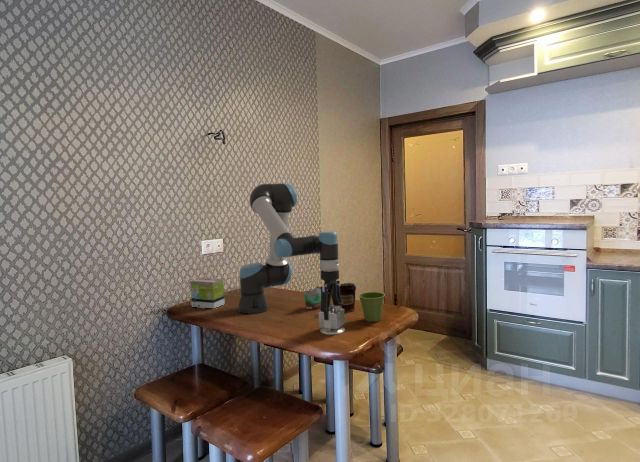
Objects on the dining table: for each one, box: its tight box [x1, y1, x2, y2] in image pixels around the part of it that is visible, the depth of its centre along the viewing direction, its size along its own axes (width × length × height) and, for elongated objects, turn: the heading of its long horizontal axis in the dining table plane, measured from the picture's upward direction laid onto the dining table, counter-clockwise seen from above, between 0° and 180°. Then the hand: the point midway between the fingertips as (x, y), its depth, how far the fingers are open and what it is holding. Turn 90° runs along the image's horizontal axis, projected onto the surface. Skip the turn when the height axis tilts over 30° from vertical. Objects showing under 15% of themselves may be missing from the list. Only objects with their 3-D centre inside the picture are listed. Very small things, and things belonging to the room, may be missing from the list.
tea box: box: [189, 277, 226, 309], centre depth 209 cm, size 15×10×15 cm
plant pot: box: [357, 291, 386, 323], centre depth 171 cm, size 12×12×11 cm
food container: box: [303, 285, 322, 311], centre depth 195 cm, size 12×6×10 cm, turn 148°
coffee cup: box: [339, 282, 357, 313], centre depth 188 cm, size 9×8×13 cm
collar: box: [318, 307, 346, 329], centre depth 159 cm, size 8×8×6 cm
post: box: [319, 303, 346, 336], centre depth 159 cm, size 10×10×11 cm
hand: (332, 324), depth 159 cm, fingers closed on collar, 8 cm apart
